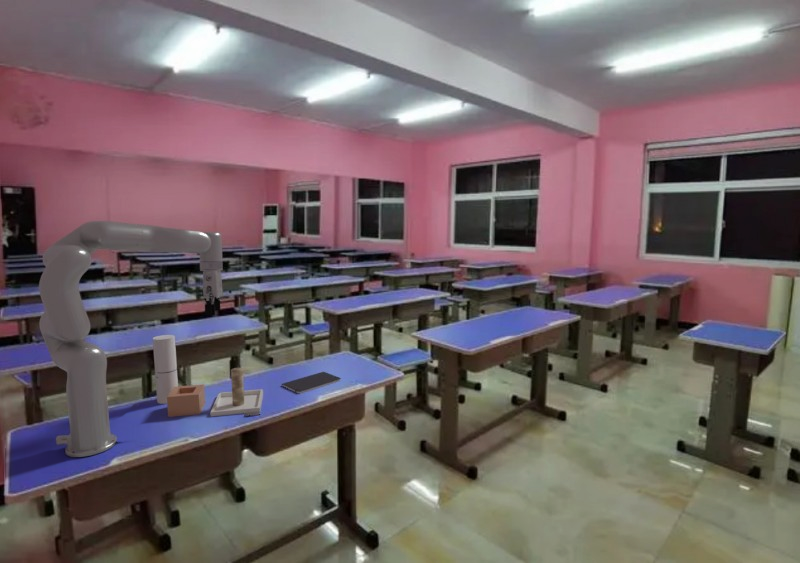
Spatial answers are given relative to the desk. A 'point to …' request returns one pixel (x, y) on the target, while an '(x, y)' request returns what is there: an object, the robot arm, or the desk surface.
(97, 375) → the robot arm
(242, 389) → the dowel pin
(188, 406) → the deep holder
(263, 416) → the desk surface
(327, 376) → the notebook
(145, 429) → the desk surface
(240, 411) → the tray
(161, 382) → the cylindrical container
